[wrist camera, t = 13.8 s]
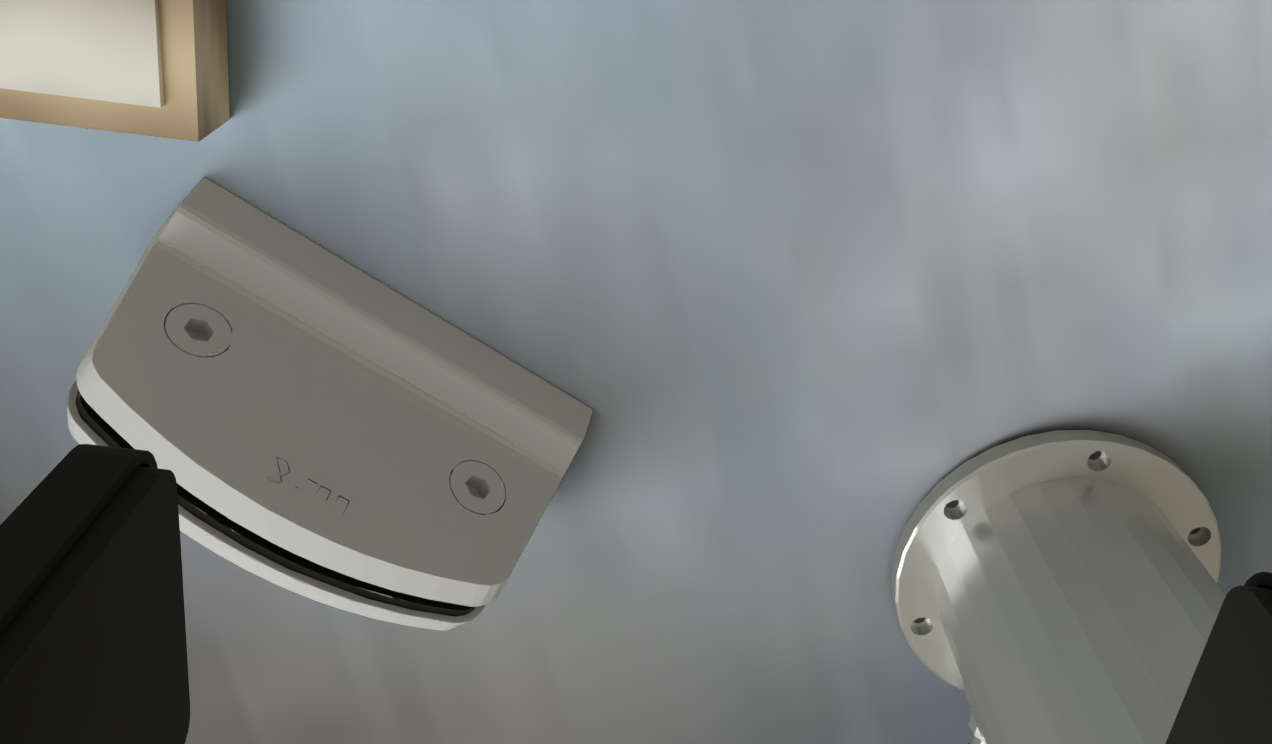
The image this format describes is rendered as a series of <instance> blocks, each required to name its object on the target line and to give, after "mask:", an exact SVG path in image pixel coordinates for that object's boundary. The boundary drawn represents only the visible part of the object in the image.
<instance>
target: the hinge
mask: <svg viewBox="0 0 1272 744" xmlns="http://www.w3.org/2000/svg"><path fill="white" fill-rule="evenodd" d="M592 413H593V409H591V408H590V407H588V406H586V405H585V404H583V403H581V402H580V401H578V400H576V399H575V398H573V397H571V396H570V395H568V394H566V393H565V392H563V391H561V390H560V389H558V388H556V387H555V386H553V385H551V384H550V383H548V382H546V381H545V380H543V379H541V378H540V377H538V376H536V375H535V374H533V373H531V372H529V371H528V370H526V369H524V368H523V367H521V366H519V365H518V364H516V363H514V362H513V361H511V360H509V359H508V358H506V357H504V356H503V355H501V354H499V353H498V352H496V351H494V350H493V349H491V348H489V347H488V346H486V345H484V344H483V343H481V342H479V341H478V340H476V339H474V338H473V337H471V336H469V335H468V334H466V333H464V332H463V331H461V330H459V329H458V328H456V327H454V326H453V325H451V324H449V323H448V322H446V321H444V320H443V319H441V318H439V317H438V316H436V315H434V314H433V313H431V312H429V311H428V310H426V309H424V308H423V307H421V306H419V305H418V304H416V303H414V302H413V301H411V300H409V299H408V298H406V297H404V296H402V295H401V294H399V293H397V292H396V291H394V290H392V289H391V288H389V287H387V286H386V285H384V284H382V283H381V282H379V281H377V280H376V279H374V278H372V277H371V276H369V275H367V274H366V273H364V272H362V271H361V270H359V269H357V268H356V267H354V266H352V265H351V264H349V263H347V262H346V261H344V260H342V259H341V258H339V257H337V256H336V255H334V254H332V253H331V252H329V251H327V250H326V249H324V248H322V247H321V246H319V245H317V244H316V243H314V242H312V241H311V240H309V239H307V238H306V237H304V236H302V235H301V234H299V233H297V232H296V231H294V230H292V229H291V228H289V227H287V226H286V225H284V224H282V223H281V222H279V221H277V220H275V219H274V218H272V217H270V216H269V215H267V214H265V213H264V212H262V211H260V210H259V209H257V208H255V207H254V206H252V205H250V204H249V203H247V202H245V201H244V200H242V199H240V198H239V197H237V196H235V195H234V194H232V193H230V192H229V191H227V190H225V189H224V188H222V187H220V186H219V185H217V184H215V183H214V182H212V181H210V180H209V179H207V178H205V177H204V178H203V179H202V180H201V181H200V182H199V184H198V185H197V186H196V187H195V188H194V189H193V190H192V191H191V193H190V194H189V195H188V196H187V197H186V198H185V199H184V200H183V202H182V203H181V204H180V205H179V207H178V208H177V209H176V211H175V212H174V213H173V214H172V216H171V217H170V218H169V219H168V221H167V222H166V223H165V224H164V225H163V227H162V228H161V229H160V230H159V232H158V233H157V234H156V235H155V237H154V238H153V240H152V242H151V243H150V245H149V247H148V248H147V250H146V252H145V254H144V255H143V257H142V259H141V260H140V262H139V264H138V265H137V267H136V269H135V271H134V272H133V274H132V276H131V277H130V279H129V281H128V283H127V284H126V286H125V288H124V289H123V291H122V293H121V295H120V296H119V298H118V300H117V301H116V303H115V305H114V307H113V308H112V310H111V312H110V313H109V315H108V317H107V318H106V320H105V322H104V324H103V325H102V327H101V329H100V330H99V332H98V334H97V336H96V337H95V339H94V341H93V342H92V344H91V346H90V348H89V349H88V351H87V353H86V354H85V356H84V358H83V360H82V361H81V363H80V365H79V366H78V370H77V375H76V380H75V381H74V383H73V385H72V386H71V388H70V390H69V392H68V397H67V415H68V427H69V430H70V432H71V434H72V436H73V438H74V439H75V440H76V441H77V442H78V443H79V444H91V445H100V446H110V447H119V448H128V449H137V450H146V451H149V452H150V453H152V454H153V455H154V458H155V460H156V463H157V468H158V469H167V470H171V471H172V472H173V473H174V475H175V478H176V482H177V492H178V510H179V527H180V531H182V532H183V533H185V534H186V535H187V536H189V537H190V538H192V539H194V540H195V541H197V542H199V543H200V544H202V545H203V546H205V547H207V548H208V549H210V550H212V551H213V552H215V553H216V554H218V555H220V556H222V557H223V558H225V559H227V560H229V561H231V562H232V563H234V564H236V565H238V566H240V567H241V568H243V569H245V570H247V571H249V572H251V573H253V574H255V575H257V576H260V577H262V578H264V579H266V580H268V581H270V582H272V583H274V584H276V585H278V586H281V587H283V588H285V589H288V590H290V591H293V592H295V593H298V594H300V595H303V596H305V597H308V598H310V599H313V600H315V601H318V602H321V603H324V604H327V605H330V606H333V607H336V608H339V609H342V610H345V611H349V612H352V613H356V614H359V615H363V616H367V617H370V618H374V619H378V620H383V621H387V622H392V623H397V624H402V625H407V626H413V627H420V628H427V629H434V630H442V631H444V630H449V629H452V628H455V627H457V626H459V625H462V624H464V623H466V622H468V621H471V620H473V619H474V618H475V617H477V616H478V615H479V614H480V613H481V611H482V610H483V609H484V607H485V605H486V604H488V603H491V602H492V601H493V600H494V599H495V598H497V597H498V595H499V593H500V592H501V590H502V588H503V587H504V585H505V583H506V581H507V580H508V578H509V576H510V574H511V573H512V571H513V569H514V567H515V565H516V563H517V561H518V560H519V558H520V556H521V554H522V552H523V550H524V548H525V547H526V545H527V543H528V541H529V539H530V537H531V536H532V534H533V532H534V530H535V528H536V526H537V524H538V523H539V521H540V519H541V517H542V515H543V513H544V511H545V510H546V508H547V506H548V504H549V502H550V500H551V498H552V497H553V495H554V493H555V491H556V489H557V487H558V485H559V484H560V482H561V480H562V478H563V476H564V474H565V472H566V471H567V469H568V467H569V465H570V463H571V461H572V459H573V458H574V456H575V454H576V452H577V450H578V448H579V447H580V445H581V443H582V441H583V439H584V437H585V434H586V431H587V428H588V425H589V422H590V419H591V416H592Z"/></svg>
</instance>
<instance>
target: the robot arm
mask: <svg viewBox="0 0 1272 744" xmlns="http://www.w3.org/2000/svg"><path fill="white" fill-rule="evenodd" d="M1221 556H1222V544H1221V538H1220V533H1219V527H1218V522H1217V520H1216V518H1215V515H1214V513H1213V511H1212V509H1211V507H1210V504H1209V502H1208V500H1207V499H1206V497H1205V496H1204V495H1203V493H1202V492H1201V491H1200V489H1199V488H1198V487H1197V486H1196V484H1195V483H1194V482H1193V480H1192V479H1191V478H1190V477H1189V476H1188V475H1187V474H1186V473H1185V472H1184V471H1183V470H1182V469H1181V468H1180V467H1179V466H1178V465H1177V464H1176V463H1175V462H1174V461H1173V460H1172V459H1170V458H1169V457H1167V456H1165V455H1164V454H1162V453H1160V452H1159V451H1157V450H1156V449H1154V448H1152V447H1151V446H1149V445H1147V444H1144V443H1142V442H1139V441H1136V440H1133V439H1130V438H1128V437H1125V436H1122V435H1119V434H1112V433H1106V432H1100V431H1093V430H1056V431H1051V432H1045V433H1039V434H1034V435H1028V436H1024V437H1021V438H1018V439H1015V440H1012V441H1009V442H1006V443H1004V444H1001V445H998V446H995V447H993V448H991V449H989V450H987V451H985V452H983V453H981V454H979V455H978V456H976V457H974V458H972V459H970V460H968V461H966V462H965V463H963V464H962V465H961V466H959V467H958V468H957V469H956V470H954V471H953V472H952V473H950V474H949V475H948V476H946V477H945V478H944V479H942V480H941V481H940V482H939V483H938V484H937V485H936V486H935V487H934V488H933V489H932V491H931V492H930V493H929V494H928V495H927V496H926V497H925V498H924V499H923V500H922V501H921V502H920V503H919V505H918V507H917V508H916V510H915V511H914V513H913V515H912V516H911V518H910V519H909V521H908V522H907V524H906V526H905V527H904V530H903V532H902V535H901V537H900V540H899V543H898V545H897V548H896V551H895V554H894V561H893V568H892V574H891V583H892V595H893V603H894V606H895V609H896V613H897V616H898V620H899V623H900V626H901V628H902V631H903V633H904V635H905V637H906V639H907V641H908V643H909V645H910V647H911V649H912V650H913V651H914V652H915V654H916V655H917V656H918V657H919V659H920V660H921V661H922V662H923V664H924V665H925V666H926V667H927V668H928V669H930V670H931V671H932V672H933V673H935V674H936V675H937V676H938V677H940V678H941V679H942V680H943V681H945V682H946V683H948V684H950V685H952V686H954V687H956V688H958V689H960V690H961V691H963V692H965V694H966V697H967V699H968V702H969V705H970V707H971V708H970V711H969V715H968V726H969V728H970V729H971V731H972V733H973V735H972V738H971V741H970V743H968V744H1272V573H1269V572H1261V573H1257V574H1254V575H1253V576H1252V577H1251V578H1250V579H1249V580H1247V581H1246V583H1245V585H1244V586H1237V587H1234V588H1233V589H1231V590H1230V591H1229V592H1228V594H1227V595H1225V594H1224V592H1223V591H1222V590H1221V588H1220V587H1219V586H1218V584H1217V582H1218V579H1219V576H1220V571H1221ZM189 721H190V699H189V682H188V665H187V648H186V630H185V613H184V596H183V579H182V561H181V544H180V527H179V510H178V492H177V482H176V478H175V475H174V473H173V472H172V471H171V470H167V469H158V468H157V463H156V460H155V458H154V455H153V454H152V453H150V452H149V451H146V450H137V449H128V448H119V447H110V446H100V445H91V444H79V445H78V446H76V447H75V448H74V449H72V450H71V451H70V452H69V453H68V454H67V455H66V456H65V458H64V459H63V460H62V461H61V462H60V463H59V464H58V465H57V466H56V467H55V468H54V469H53V470H52V471H51V472H50V473H49V474H48V475H47V477H46V478H45V479H44V480H43V481H42V482H41V483H40V484H39V485H38V486H37V487H36V488H35V489H34V490H33V491H32V492H31V493H30V494H29V496H28V497H27V498H26V499H25V500H24V501H23V502H22V503H21V504H20V505H19V506H18V507H17V508H16V509H15V510H14V511H13V512H12V513H11V515H10V516H9V517H8V518H7V519H6V520H5V521H4V522H3V523H2V524H1V525H0V744H185V741H186V737H187V733H188V728H189Z"/></svg>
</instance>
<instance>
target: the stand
mask: <svg viewBox="0 0 1272 744" xmlns="http://www.w3.org/2000/svg"><path fill="white" fill-rule="evenodd" d="M0 118H8V119H16V120H24V121H32V122H41V123H49V124H57V125H65V126H74V127H82V128H90V129H98V130H107V131H115V132H123V133H131V134H140V135H148V136H156V137H164V138H173V139H181V140H189V141H197V142H199V141H200V140H202V139H203V138H204V137H206V136H207V135H209V134H210V133H211V132H213V131H214V130H215V129H217V128H218V127H220V126H221V125H222V124H224V123H225V122H227V121H228V120H229V119H230V108H229V73H228V38H227V4H226V0H0Z"/></svg>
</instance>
